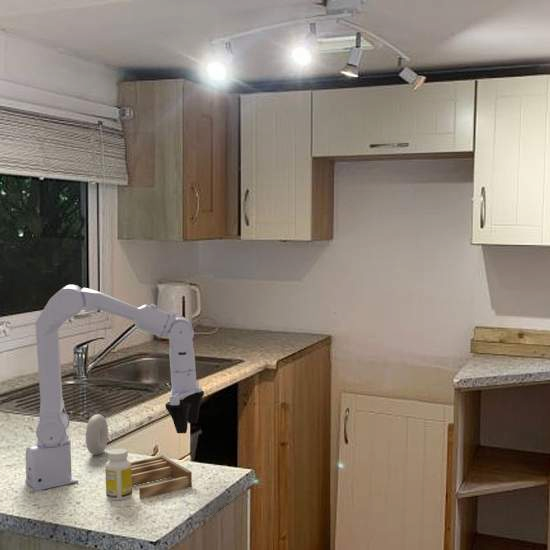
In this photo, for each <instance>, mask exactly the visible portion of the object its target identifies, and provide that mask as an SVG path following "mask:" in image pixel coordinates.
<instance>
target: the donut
mask: <svg viewBox="0 0 550 550" xmlns="http://www.w3.org/2000/svg"><path fill="white" fill-rule="evenodd" d="M108 439H109V427H108V423H107V419H106V418H105V417H104V416H103V415H101V414H100V413H98V414H94V415H92V416H91V417H90V418H89V420H88V422H87V425H86V429H85V445H86V448H87V450H88V452H89V453H90V454H92V455H94V456H99V455H101V454H102V453H103V452H104V451H105V450H106V447H107V444H108Z"/></svg>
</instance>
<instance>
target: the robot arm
mask: <svg viewBox="0 0 550 550" xmlns="http://www.w3.org/2000/svg"><path fill="white" fill-rule="evenodd" d="M157 307H158V306H157V305H156V304H154V303H151V304H150V305H148V304H143V305H142V306H139V307H138V306H135V305H132V304H130V303H127V302H126V301H123V300H121V299H118V298H115V297H114V296H111V295H108V294H106V293H103V292H100V291H98V290H95V289H92V288H88V287H83V288H82V287H80V286H79V285H76V284H68V285H65V286H63V287H62V288H61V289H60V290H58V291H57V292H56V293H55V294H53V296H51V297H50V298H49V300H48V301H47V303H46V305H45V306H44V308H43V309H42V312H41V313H40V314H39V315H38V317H37V319H36V321H35V336H36V353H37V354H36V355H37V367H38V369H37V370H38V383H39V396H40V398H39V399H40V400H39V401H40V406H39V421H38V424H37V426H36V431H35V434H36V438H37V439H36V443H35V444H33V445H31V446H28V447H26V450H25V479H24V480H25V482H26V483H27V484H28V485H29V486H30V487H32V488H33V489H34V490H35V491H42V490H47V489H52V488H56V487H61V486H65V485H69V484H73V483H78V482H79V479H78V478H77V477H75V476H74V475H73V473H72V448H71V437H70V436H69V435H68V434H67V430H68V429H69V426H70V417H69V415H68V413H67V411H66V408H65V401H64V399H63V398H64V397H63V385H62V382H63V381H62V370H61V369H62V368H61V354H60V353H61V352H60V351H61V350H60V335H59V328H61V327H62V326H63V324H65V322H67V321H68V320H70V319H72V318H74V317H76V316H78V315H79V314H80V313H81V311H82V310H83V309H84V308H85V310H84V312H85V313H90V312H94V311H99V310H100V311H102V312H106V313H109V314H111V315H115V316H118V317H121V318H123V319H127V320H130V321H133V324H134V325H135V327H136V329H137V330H141V331H143V332H146V333H149V334H153V335H154V336H158V337H160V338H168V341H169V351H168V353H169V357H168V358H169V368H170V380H171V381H170V382H171V383H170V384H171V390H170V396H169V397H168V398H169V401H167V402H166V403H165V409H166V410H167V411H168V413H169V415H170V417H171V419H172V422H173V425H174V428H175V431H176V434H187V433H188V427H189V426H188V424H197V423H198V420H199V414H200V407H201V403H202V400H203V397H204V395H205V391H204V390H203V387H200V385H199V381H198V380H197V372H196V370H197V368H196V356H195V355H196V353H195V349H194V341H193V339H194V336H195V331H194V327H193V326H192V324H191V322H190V320H189V319H188V318H186V317H184V316H183V315H177V312H171V313H170V312H168V311H164V310H162V309H160V308H157Z"/></svg>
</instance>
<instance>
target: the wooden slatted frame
mask: <svg viewBox="0 0 550 550" xmlns="http://www.w3.org/2000/svg"><path fill="white" fill-rule="evenodd" d="M130 462H131V472H132V486H133V487H135V486H134V485H137V486H139V487H138V490H139V491H138V492H139V493H138V495H139V499H140V500H144V498H145V499H148V498H153V497H156V496H161V495H165V494H168V493H169V494H170V493H174V492H177V491H181V490H184V489H190V488H192V487H193V484H192V483H193V480H192V477H193V476H192V471H191V470H189V469H187V468H186V467H184V466H183V465H180V464H179V463H177V462H175V461H173V460H171V459H170V458H168V457H166V456H164V455H157V456H153V457H148V458H144V459H139V460H135V461H130ZM169 477H172V479H170V478H169ZM164 478H167V479H168V480H165V479H164ZM173 478H174V479H173ZM160 479H163V480H164V481H163V480H162V481H161V480H160ZM156 480H159V481H158V482H157V481H156ZM152 481H154V482H156V483H153V482H152ZM147 482H150V483H151V484H148V483H147ZM143 483H146V485H144V484H143ZM139 484H142V485H143V486H140V485H139ZM147 484H148V485H147Z"/></svg>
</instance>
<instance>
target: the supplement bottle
mask: <svg viewBox="0 0 550 550" xmlns="http://www.w3.org/2000/svg"><path fill="white" fill-rule="evenodd" d="M107 452H108V455H107V458H108V461H107V462H106V463H105V466H104V468H105V494H106V499H108V500H110V501H123V500H127V499H130V498H131V497H132V495H133V487H132V472H131V462H132V461H131V460H129V459H128V458H129V457H128V454H129V453H128V449H126V448H113V449H110V450H108V451H107Z"/></svg>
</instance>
